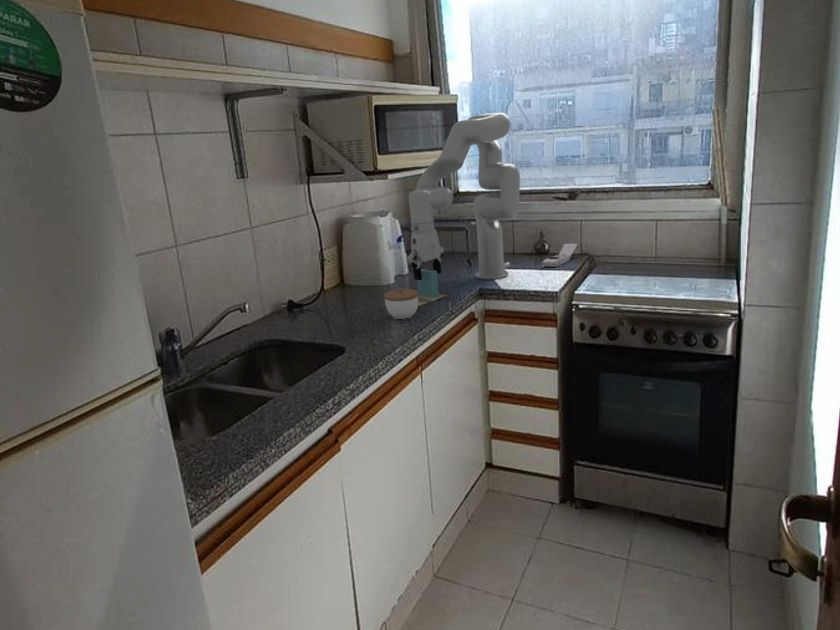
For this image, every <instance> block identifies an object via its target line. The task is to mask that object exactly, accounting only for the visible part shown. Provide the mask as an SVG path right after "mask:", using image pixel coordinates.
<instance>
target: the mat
mask: <svg viewBox="0 0 840 630" xmlns="http://www.w3.org/2000/svg"><path fill="white" fill-rule="evenodd" d="M445 296H448V294H442V293H441V294H440V293H439V296H438V297H435V298H428V297H422V296H418V306H421V305H423V304H426V303H428V302H431V301H434V300H436V299H439V298H442V297H445ZM426 305H427V304H426ZM423 306H424V305H423ZM421 307H422V306H421Z"/></svg>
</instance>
